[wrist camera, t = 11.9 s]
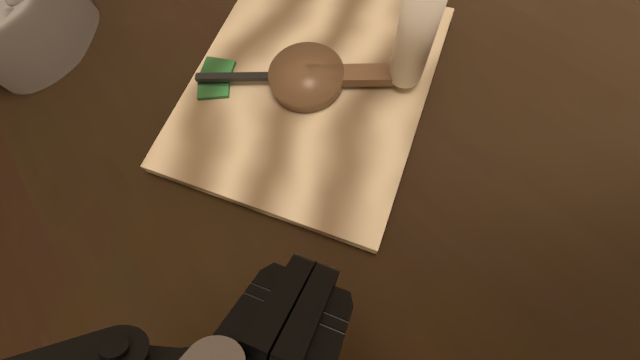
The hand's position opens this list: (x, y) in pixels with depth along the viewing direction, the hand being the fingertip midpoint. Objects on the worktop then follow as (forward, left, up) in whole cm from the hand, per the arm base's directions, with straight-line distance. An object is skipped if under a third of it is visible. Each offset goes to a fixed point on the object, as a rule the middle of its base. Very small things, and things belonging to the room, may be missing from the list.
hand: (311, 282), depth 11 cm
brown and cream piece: (+9, -18, -16) cm, 25 cm away
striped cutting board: (+9, -18, -18) cm, 26 cm away
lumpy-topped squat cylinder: (+39, -14, -18) cm, 45 cm away
